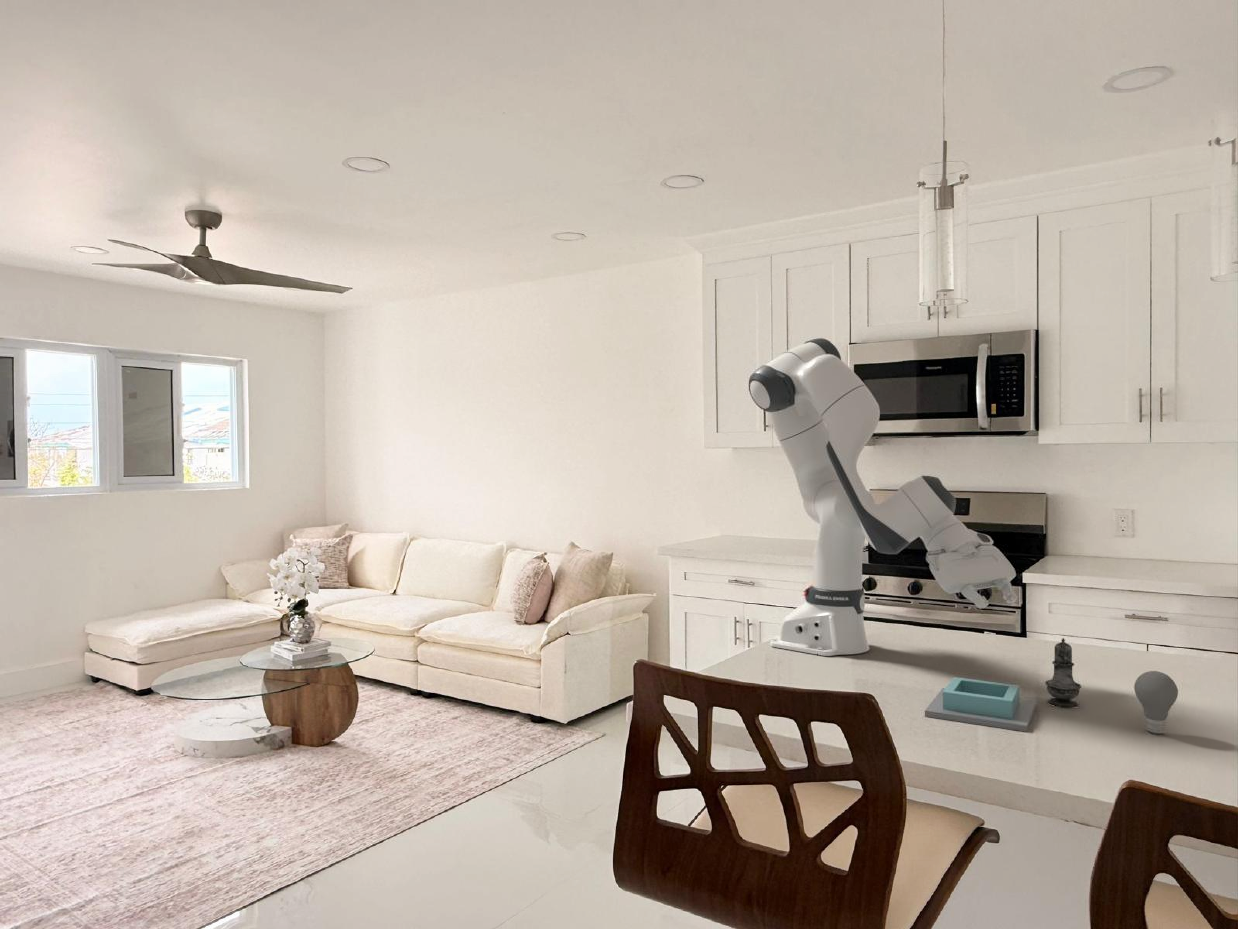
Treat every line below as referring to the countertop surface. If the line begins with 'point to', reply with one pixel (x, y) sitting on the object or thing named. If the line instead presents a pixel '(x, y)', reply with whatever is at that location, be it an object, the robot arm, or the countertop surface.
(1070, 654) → the salt shaker
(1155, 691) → the light bulb
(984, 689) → the socket
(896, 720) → the countertop surface
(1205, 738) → the countertop surface
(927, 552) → the robot arm
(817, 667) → the countertop surface
